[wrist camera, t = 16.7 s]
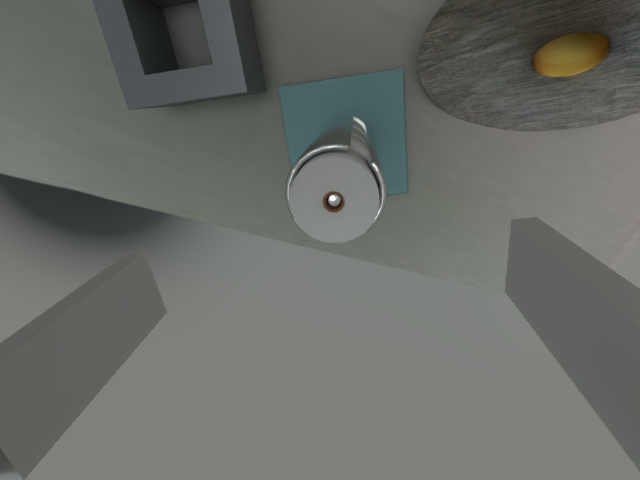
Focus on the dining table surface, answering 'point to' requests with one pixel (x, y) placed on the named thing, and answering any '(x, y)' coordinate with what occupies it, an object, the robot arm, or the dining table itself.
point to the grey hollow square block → (159, 60)
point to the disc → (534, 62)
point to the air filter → (337, 183)
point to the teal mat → (353, 100)
